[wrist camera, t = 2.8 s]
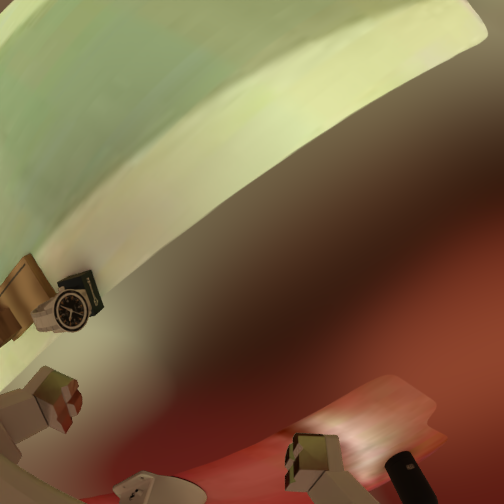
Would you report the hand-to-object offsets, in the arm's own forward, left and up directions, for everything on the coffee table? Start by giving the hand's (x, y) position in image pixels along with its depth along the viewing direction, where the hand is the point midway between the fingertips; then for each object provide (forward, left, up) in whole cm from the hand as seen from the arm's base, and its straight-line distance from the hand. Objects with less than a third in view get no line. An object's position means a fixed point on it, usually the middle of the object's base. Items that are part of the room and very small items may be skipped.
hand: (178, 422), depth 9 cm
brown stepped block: (-35, +13, -27) cm, 46 cm away
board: (-31, +13, -29) cm, 44 cm away
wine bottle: (+3, -58, -29) cm, 65 cm away
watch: (-19, +7, -29) cm, 35 cm away
